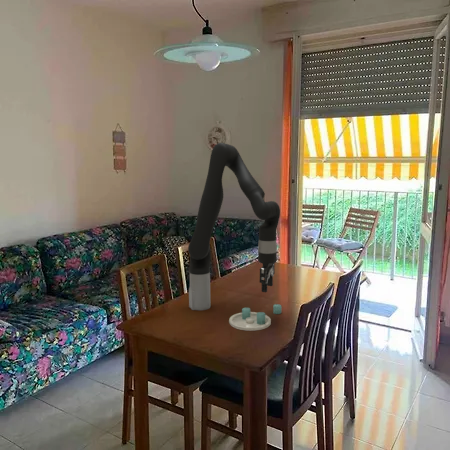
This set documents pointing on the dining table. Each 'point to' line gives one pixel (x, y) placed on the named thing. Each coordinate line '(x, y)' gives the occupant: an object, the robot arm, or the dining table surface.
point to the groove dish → (248, 322)
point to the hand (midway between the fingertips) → (267, 288)
